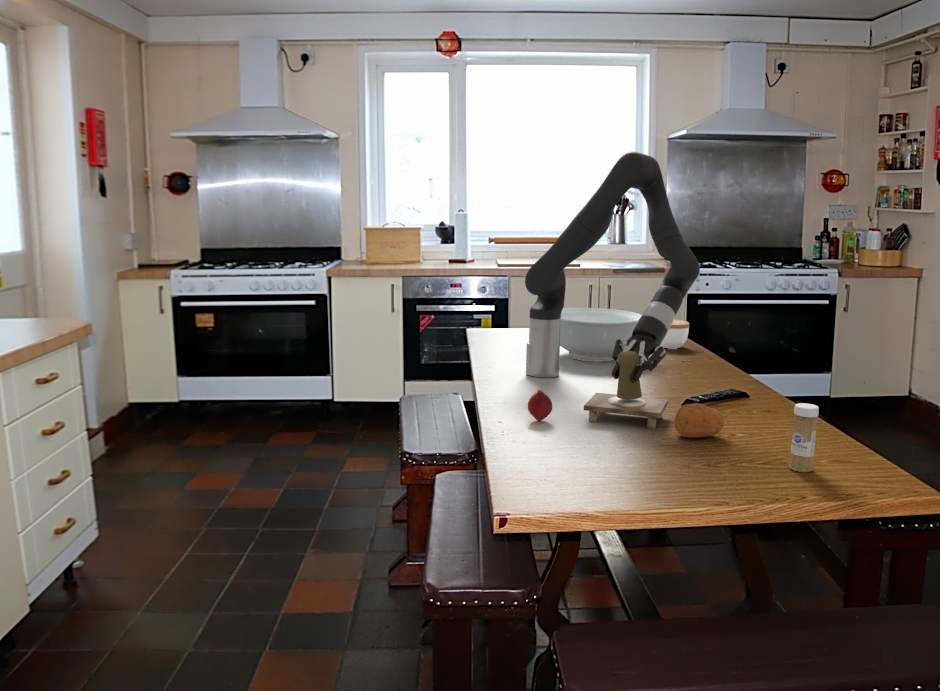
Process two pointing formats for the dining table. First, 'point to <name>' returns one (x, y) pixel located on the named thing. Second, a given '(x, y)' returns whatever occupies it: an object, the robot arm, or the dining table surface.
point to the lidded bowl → (676, 335)
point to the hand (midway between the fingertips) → (623, 378)
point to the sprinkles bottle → (803, 437)
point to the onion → (539, 405)
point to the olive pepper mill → (628, 376)
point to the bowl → (595, 331)
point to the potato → (698, 421)
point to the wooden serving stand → (626, 407)
